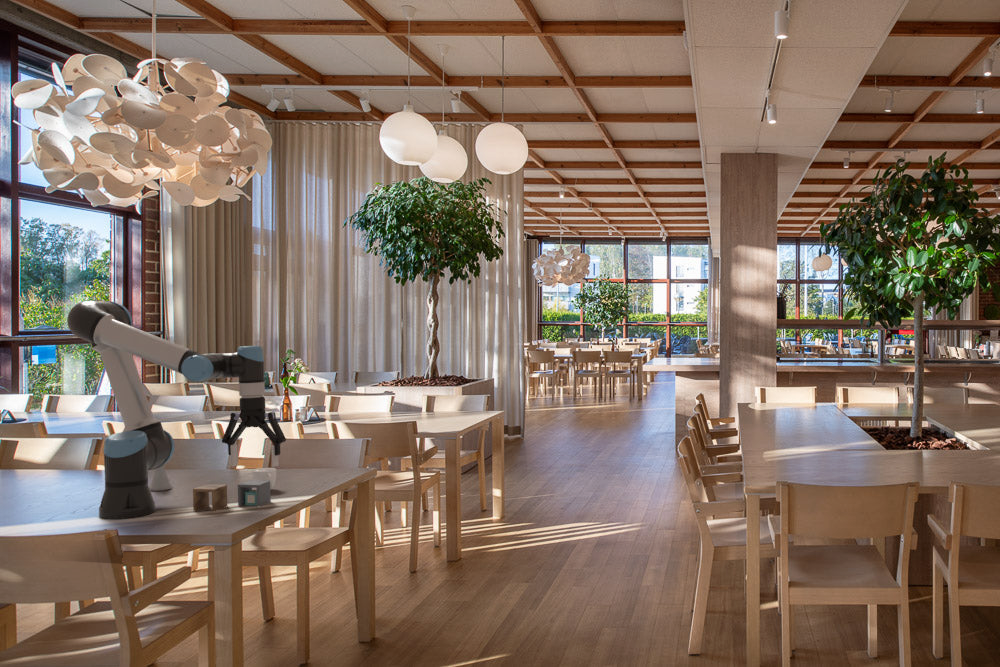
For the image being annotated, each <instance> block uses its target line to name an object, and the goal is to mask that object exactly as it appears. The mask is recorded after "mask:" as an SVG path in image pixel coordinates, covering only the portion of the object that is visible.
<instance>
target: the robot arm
mask: <svg viewBox="0 0 1000 667" xmlns="http://www.w3.org/2000/svg"><path fill="white" fill-rule="evenodd" d="M66 322H67V326H68V328H69V331H70V332H71V333H72V334H73V335H74V336H75V337H77V338H79V339H81V340H84V341H86V342H89V343H90V345H91V348H92V350H93V351H95V352H98V354H100V358H101V360H102V361H101V362H102V364H103V366H104V369H105V373H106V375H107V378H108V380H109V384H110V386H111V389H112V393H113V395H114V398H115V401H116V404H117V408H118V410H119V414H120V416H121V420H122V422H123V425H124V428H123V430H122V431H121V432H116V433H113V434H110V435H108V436H107V437H106V438H105V439H104V443H103V444H104V445H103V450H102V452H103V463H104V491H103V494H102V498H101V501H100V504H99V507H98V517H99V518H102V519H110V520H113V519H116V520H117V519H130V518H138V517H142V516H147V515H150V514H152V513H154V512H155V511H156V502H155V501H154V499H153V498H154V497H153V494H152V492H151V491H152V490H150V489H149V488H150V485H149V471H151V470H155V469H156V468H159V467H161V466H162V465H164V464H165V465H166V464H167V463H168V462H169V461H170V460H171V459H172V457H173V456H174V453H175V448H176V445H175V440H174V437H173V436H172V435H171V433H170V432H168V431H167V430H165V429H164V428H163V425H162V422H161V420H160V419H157V418H155V417H154V415H153V411H152V408H151V405H150V404H149V400H148V398H147V394H146V391H145V388H144V385H143V382H142V380H141V377H140V374H139V371H138V368H137V364H136V362H135V359H134V356H135V357H138V358H140V359H143V360H145V361H148V362H150V363H153V364H156V365H158V366H160V367H163V368H166V369H168V370H170V371H173V372H176V373H179V374H181V375H183V377H184V378H185V379H186V380H188V381H190V382H194V383H196V382H197V383H200V382H201V383H202V382H204V381H205V382H206V381H209V380H215V379H227V378H229V379H230V378H238V395H239V399H238V400H239V410H240V411H239V412H237V411H234V412H231V413H230V418H229V421H228V425H227V427H226V429H225V432H224V435H223V437H222V439H221V443H223V444H226V445H227V451H228V452H227V453H228V454H227V455H228V456H230V466H231V467H232V468H233V467H236V466H238V465H239V455H238V453H239V451H238V443H236V442H237V441H238V439H239V438H240V437H241V435H242V433H243V432H244V431H245V430H246V428H259V429H261V430H262V431H263V433H264V435H266V436H267V438H268V439H269V440H270V442H272V444H271V445H270V448H271V449H270V450H271V451H270V452H271V454H270V455H271V456H270V457H271V468H275V467H277V466H278V467H279V456H280V455H281V444H283V443H285V442H286V441H287V438H286V436H285V434H284V432H283V430H282V428H281V426H280V424H279V421H278V420H277V416H276V413H275V411H271V412H266V397H265V396H264V395H265V394H266V393H265V392H266V391H265V388H266V387H265V359H264V349H263V347H262V346H260V345H244V346H239V347H237V351H236V352H229V353H228V352H226V353H225V352H221V353H215V352H211V353H210V352H209V353H200V352H198V351H195V350H192V349H190V348H187V347H185V346H183V345H179V344H178V343H175V342H172V341H170V340H167V339H165V338H162V337H159V336H157V335H155V334H152V333H149V332H147V331H145V330H141V329H139V328H136V327H134V326H133V318H132V314H131V313H130V311H129V309H128V308H127V307H125V306H124V305H123V304H120V303H118V302H115V301H111V300H109V301H108V300H104V301H103V300H102V301H99V300H98V301H97V300H84V301H81V302H78V303H76V304H75V305H74V306H73V307H72V308H71V309H70V310H69V311H68V315H67V321H66ZM239 419H240V420H241V422H240V423H239V424H238V427H237V428H236V425H237V423H238V420H239ZM266 419H267V420H268V422H269V423H268V422H267V421H266ZM269 424H270V426H269ZM235 428H236V429H235ZM234 430H235V431H234Z"/></svg>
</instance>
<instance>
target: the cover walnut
mask: <svg viewBox="0 0 1000 667" xmlns="http://www.w3.org/2000/svg"><path fill="white" fill-rule="evenodd" d="M210 493H211V505H212V506H211V509H212V512H217V511H219V510H218V509H220V510H221V508H222V509H224V507H225V508H226V506H227V507H228V484H209V483H208V484H203V485H200V486H197V487H194V488H193V489H192V498H193V500H192V502H193V507H192V508H193V511H194V510H197V511H199V510H201V508H202V509H204V507H205V508H207V507H209V506H210ZM206 506H207V507H206ZM198 509H199V510H198ZM216 510H217V511H216Z"/></svg>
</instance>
